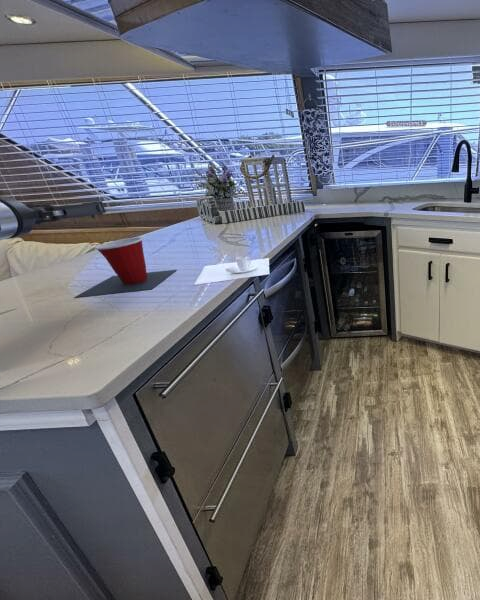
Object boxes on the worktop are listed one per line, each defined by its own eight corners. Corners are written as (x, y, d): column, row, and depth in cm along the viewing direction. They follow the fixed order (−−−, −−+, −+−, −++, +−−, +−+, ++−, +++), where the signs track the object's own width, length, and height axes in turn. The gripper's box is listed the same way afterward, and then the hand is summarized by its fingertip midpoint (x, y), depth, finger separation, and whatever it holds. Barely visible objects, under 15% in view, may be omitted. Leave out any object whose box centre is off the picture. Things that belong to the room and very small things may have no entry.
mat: (74, 297, 84) (73, 297, 84) (113, 276, 100) (112, 275, 100) (151, 289, 87) (151, 288, 87) (177, 270, 103) (177, 269, 103)
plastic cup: (114, 280, 95) (97, 240, 91) (158, 273, 101) (144, 235, 96) (107, 291, 87) (88, 247, 82) (155, 282, 92) (140, 241, 87)
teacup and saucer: (225, 276, 95) (222, 263, 94) (228, 268, 102) (225, 256, 101) (257, 271, 98) (254, 258, 97) (257, 265, 105) (255, 252, 103)
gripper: (-90, 247, 55) (9, 229, 74) (85, 233, 62) (134, 220, 81) (-118, 201, 52) (-8, 195, 71) (68, 192, 59) (124, 189, 78)
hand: (68, 209), depth 76 cm, fingers open, 13 cm apart
